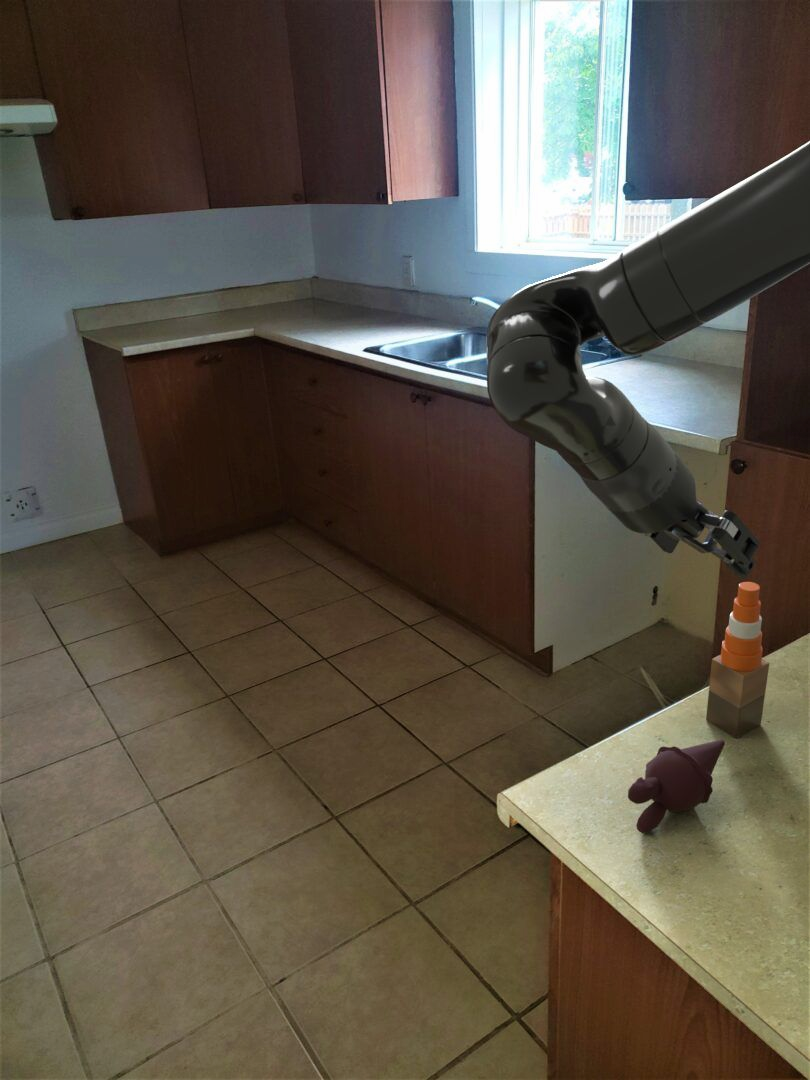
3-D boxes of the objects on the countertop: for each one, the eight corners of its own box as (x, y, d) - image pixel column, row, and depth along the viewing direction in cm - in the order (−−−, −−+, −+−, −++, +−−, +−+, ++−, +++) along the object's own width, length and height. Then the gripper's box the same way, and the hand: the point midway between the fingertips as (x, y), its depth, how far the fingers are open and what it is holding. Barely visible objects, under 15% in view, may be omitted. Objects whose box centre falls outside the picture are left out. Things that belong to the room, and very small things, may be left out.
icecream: (689, 705, 93) (599, 774, 86) (747, 723, 87) (655, 798, 80) (701, 757, 95) (614, 828, 88) (758, 778, 89) (669, 856, 82)
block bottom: (761, 724, 99) (765, 694, 97) (736, 739, 97) (740, 708, 95) (730, 706, 102) (733, 676, 100) (705, 719, 100) (708, 689, 98)
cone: (769, 662, 95) (779, 587, 91) (743, 676, 93) (753, 600, 89) (737, 646, 98) (745, 573, 94) (712, 658, 96) (720, 584, 92)
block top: (765, 694, 97) (769, 662, 95) (740, 708, 95) (744, 676, 93) (733, 676, 100) (737, 645, 98) (708, 689, 98) (711, 658, 96)
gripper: (725, 452, 66) (793, 544, 76) (595, 424, 77) (669, 508, 87) (679, 530, 65) (754, 612, 76) (554, 490, 77) (633, 567, 87)
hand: (708, 556), depth 81 cm, fingers open, 8 cm apart
